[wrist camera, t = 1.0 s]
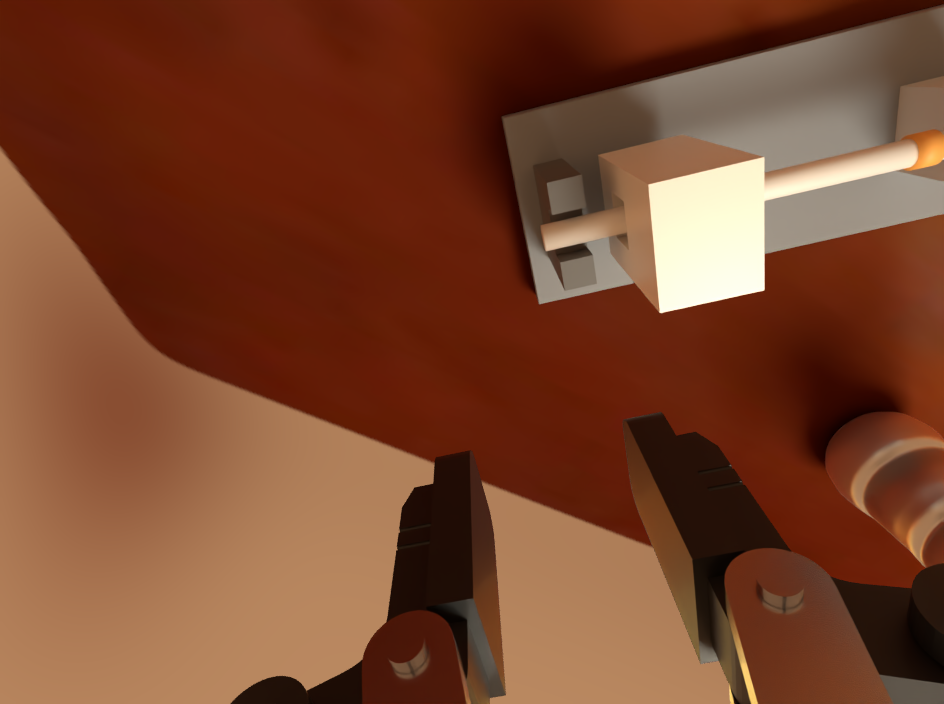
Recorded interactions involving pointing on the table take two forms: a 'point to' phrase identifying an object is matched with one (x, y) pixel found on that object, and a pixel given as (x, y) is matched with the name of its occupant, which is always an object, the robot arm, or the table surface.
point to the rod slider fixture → (748, 144)
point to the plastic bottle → (894, 477)
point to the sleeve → (687, 219)
